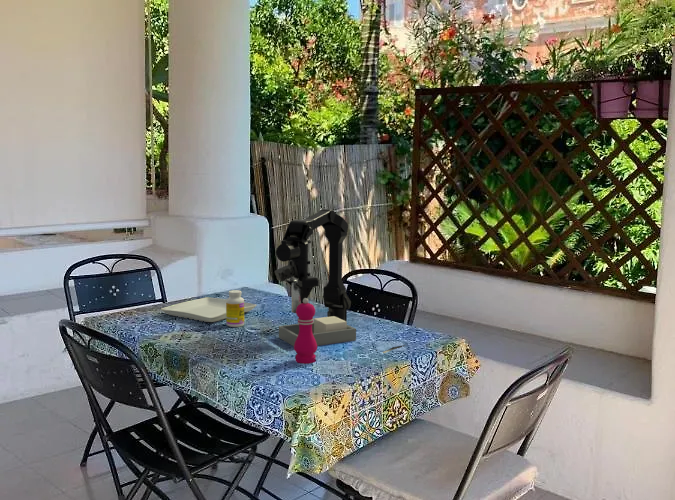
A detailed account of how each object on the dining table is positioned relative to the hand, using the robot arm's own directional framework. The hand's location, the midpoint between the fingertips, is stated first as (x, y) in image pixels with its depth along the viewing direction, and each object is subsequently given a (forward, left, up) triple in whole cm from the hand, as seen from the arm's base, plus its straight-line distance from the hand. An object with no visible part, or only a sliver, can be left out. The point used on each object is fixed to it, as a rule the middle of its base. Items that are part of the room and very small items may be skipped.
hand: (299, 302), depth 243 cm
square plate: (+15, -51, -14) cm, 55 cm away
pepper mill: (+8, +21, -14) cm, 27 cm away
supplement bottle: (+12, -30, -14) cm, 35 cm away
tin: (0, 0, -3) cm, 3 cm away
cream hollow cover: (-10, +4, -12) cm, 16 cm away
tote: (-5, +4, -13) cm, 15 cm away
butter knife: (-18, +25, -14) cm, 34 cm away
